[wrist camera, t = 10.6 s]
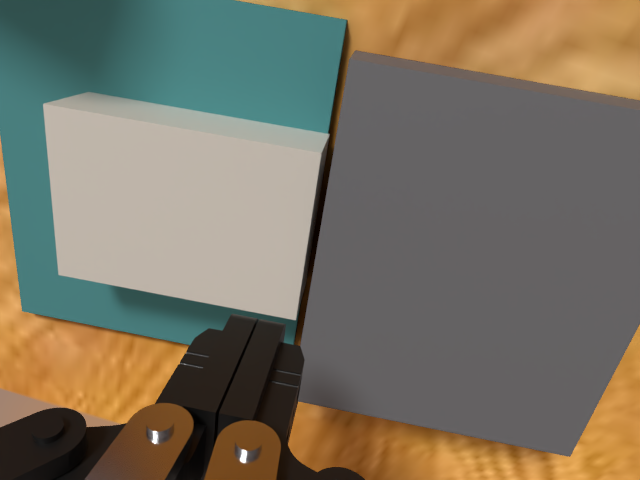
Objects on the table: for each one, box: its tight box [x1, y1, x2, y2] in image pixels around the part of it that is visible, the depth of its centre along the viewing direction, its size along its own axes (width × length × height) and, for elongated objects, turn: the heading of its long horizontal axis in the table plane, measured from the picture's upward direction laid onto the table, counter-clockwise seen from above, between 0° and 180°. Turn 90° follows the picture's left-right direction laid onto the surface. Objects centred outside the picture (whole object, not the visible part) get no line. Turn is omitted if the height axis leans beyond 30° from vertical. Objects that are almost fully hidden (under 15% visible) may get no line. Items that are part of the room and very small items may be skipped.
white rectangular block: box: [43, 92, 330, 320], centre depth 20 cm, size 10×7×3 cm
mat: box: [0, 0, 347, 345], centre depth 22 cm, size 14×16×1 cm
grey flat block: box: [298, 51, 640, 457], centre depth 20 cm, size 12×14×4 cm
